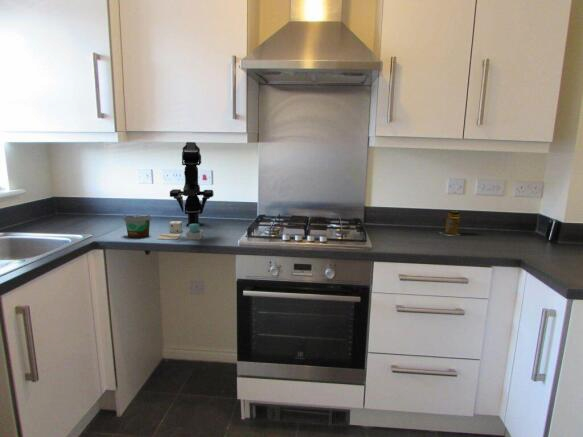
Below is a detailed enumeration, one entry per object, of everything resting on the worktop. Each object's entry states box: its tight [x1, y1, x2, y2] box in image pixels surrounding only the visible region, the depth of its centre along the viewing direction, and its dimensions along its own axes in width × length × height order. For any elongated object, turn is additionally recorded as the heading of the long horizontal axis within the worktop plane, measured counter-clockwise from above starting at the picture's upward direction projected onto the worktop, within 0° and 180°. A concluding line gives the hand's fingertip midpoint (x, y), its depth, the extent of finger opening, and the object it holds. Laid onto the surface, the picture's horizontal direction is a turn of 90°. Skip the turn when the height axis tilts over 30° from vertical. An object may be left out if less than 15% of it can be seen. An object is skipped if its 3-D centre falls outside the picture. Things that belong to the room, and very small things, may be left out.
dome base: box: [185, 229, 203, 240], centre depth 172 cm, size 6×6×3 cm
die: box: [168, 220, 183, 234], centre depth 182 cm, size 5×5×5 cm
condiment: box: [438, 210, 462, 237], centre depth 192 cm, size 7×8×12 cm
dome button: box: [188, 224, 200, 233], centre depth 172 cm, size 4×4×4 cm
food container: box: [123, 214, 152, 239], centre depth 170 cm, size 12×6×10 cm, turn 92°
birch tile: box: [157, 233, 182, 240], centre depth 173 cm, size 9×9×1 cm
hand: (192, 211), depth 170 cm, fingers open, 8 cm apart
